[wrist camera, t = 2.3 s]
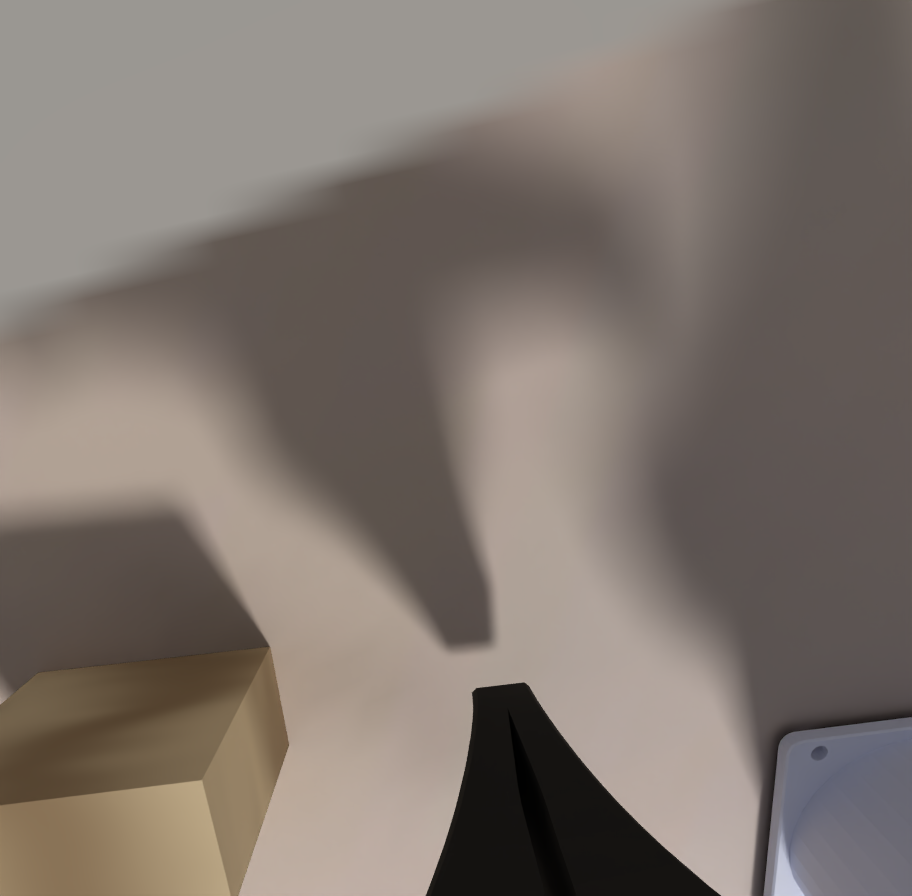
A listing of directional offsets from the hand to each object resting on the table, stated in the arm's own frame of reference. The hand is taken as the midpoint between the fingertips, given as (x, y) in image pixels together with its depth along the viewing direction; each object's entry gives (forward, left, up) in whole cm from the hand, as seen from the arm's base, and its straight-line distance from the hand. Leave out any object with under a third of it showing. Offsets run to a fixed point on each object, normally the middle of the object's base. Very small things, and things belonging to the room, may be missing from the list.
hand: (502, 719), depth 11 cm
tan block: (+9, 0, -2) cm, 9 cm away
